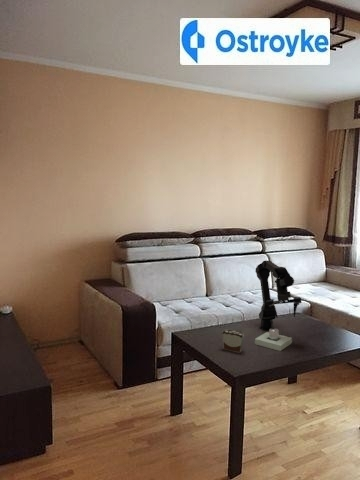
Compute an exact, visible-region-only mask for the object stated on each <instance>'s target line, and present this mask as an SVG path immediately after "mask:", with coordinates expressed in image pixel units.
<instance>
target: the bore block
mask: <svg viewBox="0 0 360 480" xmlns="http://www.w3.org/2000/svg"><path fill="white" fill-rule="evenodd" d="M292 344H293V337H290V336H286V335H281V334H279V335H278V341H273V340H269V331H266V332H265V333H263V334H261V335H259V336H257V337H256V338H254V345H256V346H260V347H264V348H267V349H271V350H275V351H277V352H281V351H282V350H284V349H286V348H287V347H289V346H290V345H292Z"/></svg>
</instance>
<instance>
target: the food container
mask: <svg viewBox="0 0 360 480" xmlns="http://www.w3.org/2000/svg"><path fill="white" fill-rule="evenodd" d="M221 335H222V344H223V345H222V346H223V350H226V351H230V352H234V353H239V354H240V353H241V352H242V347H243V340H244V339H245V335H244V332H243V331H242V330H239V329H236V328H226V329H223V330H222V331H221Z"/></svg>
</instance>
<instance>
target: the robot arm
mask: <svg viewBox="0 0 360 480" xmlns="http://www.w3.org/2000/svg"><path fill="white" fill-rule="evenodd" d="M255 273H256V277H257V278H258V280H259V281H260V288H261V289H260V290H261V297H262V306H261V307H260V311H259V313H258V318H259V319H260V327H259V329H260V330H266V331H267V332H269V329H270V328H274V320H276V318H277V319H278V313H277V309H276V306H275V305H282V304H291V303H293V317H294V318H295V317H296V312H297V308H298V306H299V305H300V304H302V298H301V297H300V296H298V297H293V299H291V297H292V296H291V291H289V290H288V288H289V287H291V286H293V285H294V283H295V280H294V277H293V276H291V273H289V271H288V269H287V268H286V266H280V265H279V266H278V264H276V263H274V262H272V260H263V261H262V262H261V263H260V264H257V265H256V268H255ZM271 275H272V276H273V277H274V278H275V281H274V283H275V285H276V286H275V287H276V293H277V300H274V299H271V291H270V284H269V277H270V276H271Z"/></svg>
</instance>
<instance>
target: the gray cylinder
mask: <svg viewBox="0 0 360 480" xmlns="http://www.w3.org/2000/svg"><path fill="white" fill-rule="evenodd" d="M279 331H280V330H279V329H278V328H274V327H273V328H270V329H269V331H268V332H269V340H273V341H278V335H280V334H279V333H280V332H279Z"/></svg>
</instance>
